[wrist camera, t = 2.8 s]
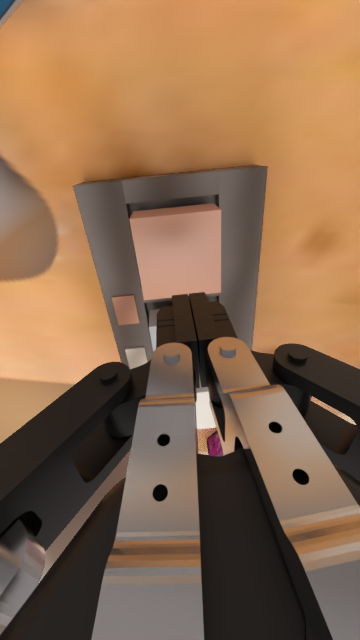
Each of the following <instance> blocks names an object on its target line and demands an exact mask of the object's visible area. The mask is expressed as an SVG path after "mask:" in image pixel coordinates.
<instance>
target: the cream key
mask: <svg viewBox="0 0 360 640" xmlns="http://www.w3.org/2000/svg"><path fill="white" fill-rule="evenodd" d="M199 383H200V388H196V392H197V401H196V420H197V429H206V428H215V427H216V425H215V421H214V418H213V415H212V411H211V408H210V404H209V391H208V387H202V388H201V382H200V377H199Z"/></svg>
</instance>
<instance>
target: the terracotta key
mask: <svg viewBox="0 0 360 640" xmlns="http://www.w3.org/2000/svg"><path fill="white" fill-rule="evenodd" d="M129 220H130V225H131V231H132V236H133V242H134V248H135V253H136V259H137V264H138V270H139V275H140V281H141V286H142V292H143V297H144V300H153V299H162V298H172V295H180V294H188V296H189V293H199V292H205V294H211V293H220V292H221V209H220V208H219V207H217V206H216V205H215V204H214V203H211V204H201V205H191V206H181V207H172V208H162V209H152V210H142V211H133V213H132V215H131V217H130V219H129Z"/></svg>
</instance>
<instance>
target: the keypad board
mask: <svg viewBox="0 0 360 640" xmlns="http://www.w3.org/2000/svg"><path fill="white" fill-rule="evenodd" d="M267 167H268V166H258V165H252V166H242V167H232V168H222V169H212V170H202V171H192V172H182V173H172V174H162V175H152V176H142V177H132V178H122V179H112V180H102V181H92V182H83V183H80V184H77V185H74V186H73V188H74V191H75V195H76V199H77V202H78V206H79V209H80V213H81V217H82V220H83V224H84V228H85V231H86V235H87V239H88V242H89V246H90V249H91V253H92V257H93V260H94V264H95V268H96V271H97V275H98V279H99V282H100V286H101V289H102V293H103V297H104V300H105V304H106V308H107V311H108V315H109V319H110V322H111V326H112V330H113V333H114V337H115V340H116V344H117V348H118V351H119V355H120V359H121V362H122V363H124V364H125V365H127V366H128V367H129V369H133V368H136V367H138V366H141V365H143V364H145V363H147V362H148V361H150V360H151V357H152V354H153V347H152V342H151V336H150V331H149V318H150V310H154V309H160V308H161V307H168V306H173V303H172V298H162V299H153V300H144V297H143V292H142V286H141V281H140V275H139V270H138V264H137V259H136V253H135V248H134V242H133V236H132V231H131V225H130V220H129V219H130V217H131V215H132V213H133V211H142V210H152V209H162V208H172V207H181V206H191V205H201V204H211V203H214V204H215V205H216V206H217V207H219V208H220V209H221V292H220V293H211V294H206V297H207V300H208V302H215V301H218V302H219V303H220V304H222V305H223V306H224V307H225V309H226V312H227V314H228V316H229V320H230V321H231V323H232V326H233V328H234V331H235V333H236V335H237V338H238V339H239V340H242V341H243V342H244V343H245V344H246V345H247V346H248V348H249V350H251V351H252V341H253V330H254V318H255V306H256V295H257V283H258V272H259V260H260V248H261V237H262V225H263V213H264V202H265V190H266V179H267ZM188 298H189V296H188Z"/></svg>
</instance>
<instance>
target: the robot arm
mask: <svg viewBox="0 0 360 640" xmlns="http://www.w3.org/2000/svg"><path fill="white" fill-rule="evenodd" d="M172 303H173V306H168V307H161V308H160V310H159V311H158V313H157V328H156V349H155V351H154V352H153V354H152V357H151V360H150V361H148V362H147V363H145V364H143V365H141V366H138V367H136V368H133V369H129V367H128V366H127V365H125V364H124V363H120V362H110V363H106V364H103V365H101V366H99V367H97V368H96V369H94V370H93V371H92V372H90V373H89V374H88V375H87V376H85V377H84V378H83V379H82V380H80V381H79V382H78V383H77V384H75V385H74V386H73V387H71V388H70V389H69V390H68V391H67V392H65V393H64V394H63V395H61V396H60V397H59V398H58V399H56V400H55V401H54V402H53V403H51V404H50V405H49V406H47V407H46V408H45V409H44V410H42V411H41V412H40V413H39V414H37V415H36V416H35V417H34V418H32V419H31V420H30V421H28V422H27V423H26V424H25V425H24V426H22V427H21V428H20V429H18V430H17V431H16V432H15V433H13V434H12V435H11V436H10V437H8V438H7V439H6V440H5V441H3V442H2V443H1V444H0V640H360V369H358V368H355V367H353V366H351V365H348V364H346V363H344V362H341V361H339V360H337V359H334V358H332V357H330V356H327V355H325V354H323V353H321V352H318V351H316V350H314V349H311V348H309V347H307V346H304V345H300V344H284V345H281V346H279V347H278V348H277V349H276V350H275V353H274V354H266V353H259V352H254V351H251V350H249V348H248V346H247V345H246V344H245V343H244V342H243V341H242V340H239V339H238V338H237V335H236V333H235V331H234V328H233V326H232V323H231V321H230V320H229V316H228V314H227V312H226V309H225V307H224V306H223V305H222V304H220V303H219V302H218V301H215V302H208V300H207V297H206V294H205V292H199V293H189V298H188V294H180V295H172ZM199 377H200V382H201V388H202V387H208V391H209V404H210V408H211V411H212V415H213V418H214V421H215V425H216V428H217V432H218V435H219V438H220V442H221V445H222V449H223V453H224V456H219V457H218V456H210V455H203V454H198V438H197V420H196V401H197V392H196V388H200V383H199ZM312 396H313V397H315V398H317V399H318V400H320V401H322V402H324V403H326V404H327V405H329V406H331V407H333V408H335V409H337V410H338V411H340V412H342V413H344V414H346V415H347V416H349V417H350V418H351V419H353V420H354V422H355V423H356V425H354V424H351V423H349V422H347V421H345V420H344V419H342V418H340V417H338V416H337V415H335V414H333V413H331V412H330V411H328V410H326V409H324V408H323V407H321V406H319V405H317V404H315V403H314V402H312V401H310V400H311V397H312ZM130 449H131V451H130V457H129V463H128V469H127V475H126V477H125V478H124V479H122V480H121V481H120V482H119V483H118V484H116V485H115V486H114V487H113V488H112V489H111V490H110V491H109V492H108V493H107V495H105V497H104V498H103V499H102V500H101V502H100V503H99V504H98V506H97V507H96V508H95V510H94V511H93V512H92V514H91V515H90V516H89V518H88V519H87V520H86V522H85V523H84V524H83V526H82V527H81V528H80V530H79V531H78V532H77V534H76V535H75V536H74V538H73V539H72V540H71V542H70V543H69V544H68V546H67V547H66V548H65V550H64V551H63V552H62V554H61V555H60V556H59V558H58V559H57V561H56V562H55V563H54V564H53V566H52V567H51V568H50V570H49V571H48V572H47V574H46V575H45V576H44V578H43V579H42V580H41V581H40V578H41V576H42V573H43V570H44V565H45V551H46V550H47V549H48V547H49V546H50V545H51V544H52V543H53V541H54V540H55V539H56V538H57V537H58V535H59V534H60V533H61V532H62V531H63V530H64V528H65V527H66V526H67V525H68V523H69V522H70V521H71V520H72V519H73V517H74V516H75V515H76V514H77V513H78V511H79V510H80V509H81V508H82V507H83V506H84V504H85V503H86V502H87V501H88V499H89V498H90V497H91V496H92V495H93V494H94V492H95V491H96V490H97V489H98V488H99V486H100V485H101V484H102V483H103V482H104V480H105V479H106V478H107V477H108V476H109V474H110V473H111V472H112V471H113V469H114V468H115V467H116V466H117V465H118V464H119V462H120V461H121V460H122V459H123V458H124V456H125V455H126V454H127V453H128V452H129V450H130ZM39 581H40V583H39Z"/></svg>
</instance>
